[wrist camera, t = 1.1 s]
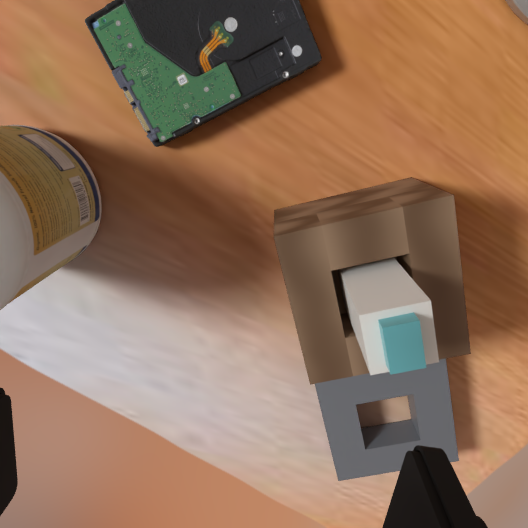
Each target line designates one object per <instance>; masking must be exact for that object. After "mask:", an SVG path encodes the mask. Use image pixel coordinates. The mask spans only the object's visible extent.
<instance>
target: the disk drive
mask: <svg viewBox="0 0 528 528" xmlns="http://www.w3.org/2000/svg"><path fill="white" fill-rule="evenodd" d="M85 23H86V25H87V26H88V28H89V30H90V32H91V34H92V36H93V38H94V39H95V41H96V43H97V45H98V47H99V49H100V50H101V52H102V54H103V56H104V58H105V60H106V62H107V64H108V65H109V67H110V69H111V70H112V74H113V76H114V78H115V79H116V81H117V83H118V85H119V87H120V88H121V89H123V90H124V94H125V96H126V98H127V99H128V101H129V103H130V105H132V106H133V108H132V109H133V110H134V112H135V114H136V116H137V117H138V119H139V121H140V123H141V125H142V127H143V128H144V130H145V132H147V134H148V135H147V137H148V138H149V139H150V141H151V142H152V143H153V144H154V146H156V147H158V146H161V145H164V144H166V143H167V142H169V141H171V140H173V139H175V138H177V137H179V136H182V135H184V134H186V133H188V132H190V131H192V130H193V129H194V128H197V127H198V126H200V125H202V124H204V123H206V122H208V121H210V120H212V119H214V118H215V117H217V116H220V115H221V114H223V113H225V112H227V111H229V110H231V109H233V108H235V107H237V106H238V105H241V104H243V103H244V102H247V101H248V100H250V99H252V98H254V97H256V96H258V95H260V94H261V93H264V92H265V91H267V90H269V89H271V88H273V87H275V86H277V85H279V84H281V83H283V82H285V81H286V80H290V79H292V78H294V77H296V76H298V75H299V74H302V73H303V72H304V71H306V70H308V69H310V68H312V67H313V66H316V65H317V64H318V63H319V62H320V61H321V58H322V57H321V55H320V51H319V49H318V47H317V44H316V42H315V39H314V37H313V34H312V32H311V30H310V27H309V25H308V22H307V20H306V17H305V14H304V11H303V9H302V6H301V4H300V2H299V0H115V1H112V2H111V3H109V4H107V5H106V6H105V7H104V8H103V9H101V10H99V11H97V12H95V13H94V14H92V15H91V16H89V17H87V18H86V19H85Z"/></svg>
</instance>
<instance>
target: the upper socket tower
mask: <svg viewBox="0 0 528 528" xmlns="http://www.w3.org/2000/svg"><path fill="white" fill-rule="evenodd" d="M274 240H275V244H276V248H277V252H278V256H279V261H280V265H281V269H282V273H283V277H284V281H285V285H286V289H287V293H288V297H289V301H290V305H291V309H292V313H293V317H294V321H295V325H296V329H297V333H298V337H299V341H300V345H301V349H302V353H303V357H304V361H305V365H306V369H307V373H308V377H309V381H310V385H311V384H316V383H321V382H326V381H331V380H336V379H342V378H347V377H352V376H357V375H362V374H368V373H369V370H368V367H367V365H366V362H365V359H364V357H363V354H362V351H361V348H360V346H359V343H358V340H357V338H356V335H355V332H354V329H353V327H352V324H351V321H350V319H349V316H348V313H347V310H346V308H345V305H344V300H343V295H342V290H341V285H340V280H339V276H338V271H337V269H342V268H346V267H351V266H355V265H360V264H364V263H369V262H373V261H378V260H382V259H387V258H392V257H394V258H395V259H396V261H397V262H398V263H399V264H400V265H401V266H402V268H403V269H404V270H405V271H406V272H407V273H408V275H409V276H410V277H411V278H412V279H413V280H414V281H415V283H416V284H417V285H418V286H419V287H420V288H421V290H422V291H423V292H424V293H425V294H426V295H427V297H428V298H429V299H430V300H431V305H432V313H433V320H434V328H435V335H436V342H437V350H438V357H439V360H440V359H445V358H450V357H456V356H461V355H466V354H471V352H470V343H469V333H468V324H467V315H466V305H465V296H464V286H463V277H462V267H461V258H460V248H459V239H458V230H457V220H456V211H455V201H454V195H453V194H450V193H448V192H446V191H443V190H441V189H438V188H436V187H434V186H431V185H429V184H426V183H424V182H422V181H419V180H417V179H414V178H412V177H411V178H407V179H403V180H399V181H394V182H390V183H386V184H382V185H378V186H374V187H369V188H365V189H361V190H357V191H353V192H348V193H344V194H340V195H336V196H332V197H327V198H323V199H319V200H315V201H311V202H307V203H302V204H298V205H294V206H290V207H286V208H281V209H277V210H274Z"/></svg>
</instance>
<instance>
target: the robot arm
mask: <svg viewBox="0 0 528 528" xmlns="http://www.w3.org/2000/svg"><path fill="white" fill-rule="evenodd" d="M505 1H506V2H507V4H508V5H509V7H510V8H511V9H512V11H513V12H514V13H515V14H516V15H517V16H518V17H519V18H520V19H521V20H522V21H523V22H525V23H526V24H528V0H505ZM16 489H17V469H16V457H15V444H14V432H13V420H12V408H11V399H10V397H9V396H8V395H5V391H4V390H3V388H0V515H1V514H2V513H3V511H4V510H5V508H6V507H7V506H8V504H9V503H10V501H11V500H12V498H13V496H14V494H15V492H16ZM383 528H488V527H487V526H486V524H485V523H484V521H483V520H482V519H481V518H480V517H478V516H476V515H475V513H474V511H473V509H472V506H471V504H470V503H469V500H468V498H467V496H466V494H465V492H464V490H463V488H462V486H461V484H460V482H459V480H458V478H457V476H456V474H455V471H454V469H453V467H452V465H451V463H450V461H449V459H448V457H447V455H446V453H445V452H444V450H443V449H441V448H435V447H427V446H420V445H416V446H415V447H414V450H413V451H407V452H406V455H405V458H404V461H403V464H402V467H401V470H400V473H399V477H398V480H397V483H396V486H395V489H394V493H393V496H392V499H391V502H390V505H389V509H388V512H387V515H386V518H385V521H384V525H383Z"/></svg>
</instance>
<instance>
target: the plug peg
mask: <svg viewBox="0 0 528 528" xmlns="http://www.w3.org/2000/svg"><path fill="white" fill-rule="evenodd" d="M337 271H338V276H339V280H340V285H341V290H342V295H343V300H344V305H345V308H346V310H347V313H348V316H349V319H350V321H351V324H352V327H353V329H354V332H355V335H356V338H357V340H358V343H359V346H360V348H361V351H362V354H363V357H364V359H365V362H366V365H367V367H368V370H369V373H370V375H375V374H380V373H386V372H390V375H392V374H397V373H402V372H407V371H412V370H418V369H423V368H426V365H427V364H432V363H438V362H439V357H438V350H437V342H436V335H435V328H434V320H433V313H432V305H431V300H430V299H429V298H428V297H427V295H426V294H425V293H424V292H423V291H422V290H421V288H420V287H419V286H418V285H417V284H416V283H415V281H414V280H413V279H412V278H411V277H410V276H409V275H408V273H407V272H406V271H405V270H404V269H403V268H402V266H401V265H400V264H399V263H398V262H397V261H396V259H395V258H394V257H392V258H387V259H382V260H378V261H373V262H369V263H364V264H360V265H355V266H351V267H346V268H342V269H337Z"/></svg>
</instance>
